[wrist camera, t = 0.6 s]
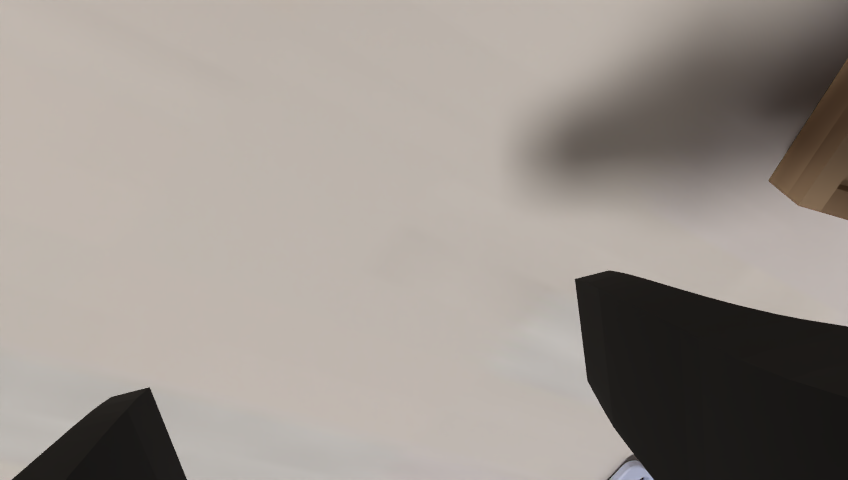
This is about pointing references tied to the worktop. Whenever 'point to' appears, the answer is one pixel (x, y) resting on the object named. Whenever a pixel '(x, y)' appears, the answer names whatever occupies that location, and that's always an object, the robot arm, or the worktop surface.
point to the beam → (820, 155)
